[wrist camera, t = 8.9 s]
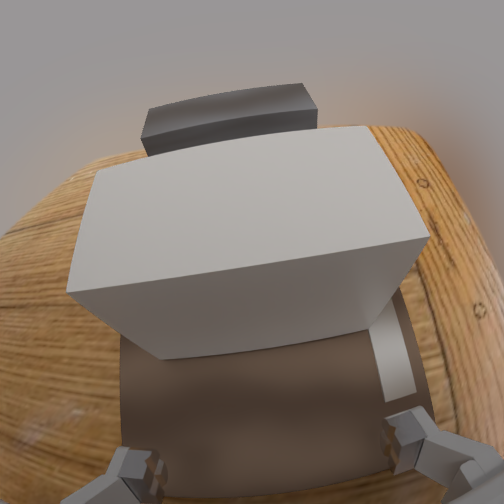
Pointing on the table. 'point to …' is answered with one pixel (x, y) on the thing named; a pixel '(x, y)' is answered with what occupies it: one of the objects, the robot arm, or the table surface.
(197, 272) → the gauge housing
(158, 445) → the gauge stand
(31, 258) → the table surface
